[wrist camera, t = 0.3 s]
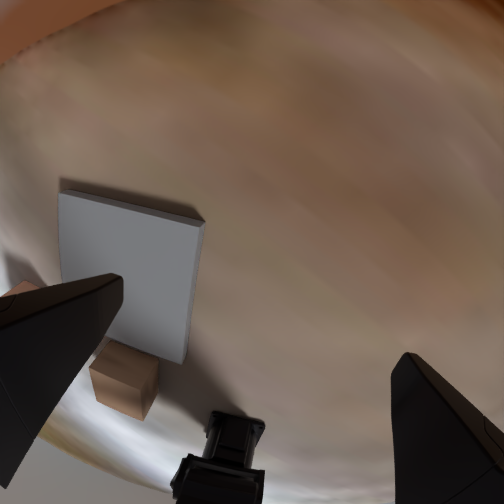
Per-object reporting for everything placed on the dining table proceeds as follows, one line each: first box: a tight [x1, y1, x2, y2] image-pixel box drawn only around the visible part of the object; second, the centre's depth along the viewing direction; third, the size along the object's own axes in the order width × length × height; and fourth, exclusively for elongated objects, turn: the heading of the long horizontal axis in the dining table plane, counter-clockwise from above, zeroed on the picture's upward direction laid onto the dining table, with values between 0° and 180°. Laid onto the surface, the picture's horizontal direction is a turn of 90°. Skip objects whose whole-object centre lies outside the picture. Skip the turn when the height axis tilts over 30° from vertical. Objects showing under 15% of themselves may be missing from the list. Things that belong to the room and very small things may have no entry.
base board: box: [58, 189, 205, 365], centre depth 25 cm, size 14×14×2 cm
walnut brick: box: [89, 340, 159, 421], centre depth 28 cm, size 6×6×5 cm
